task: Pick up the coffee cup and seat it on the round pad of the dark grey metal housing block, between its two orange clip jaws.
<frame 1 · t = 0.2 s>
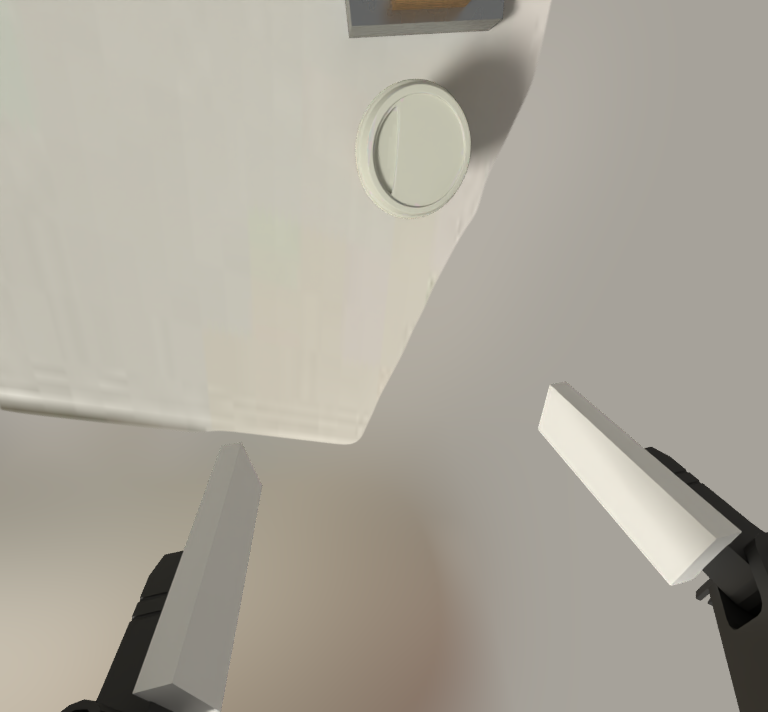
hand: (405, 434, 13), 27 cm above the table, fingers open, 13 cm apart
coffee cup: (386, 160, 31), on the table
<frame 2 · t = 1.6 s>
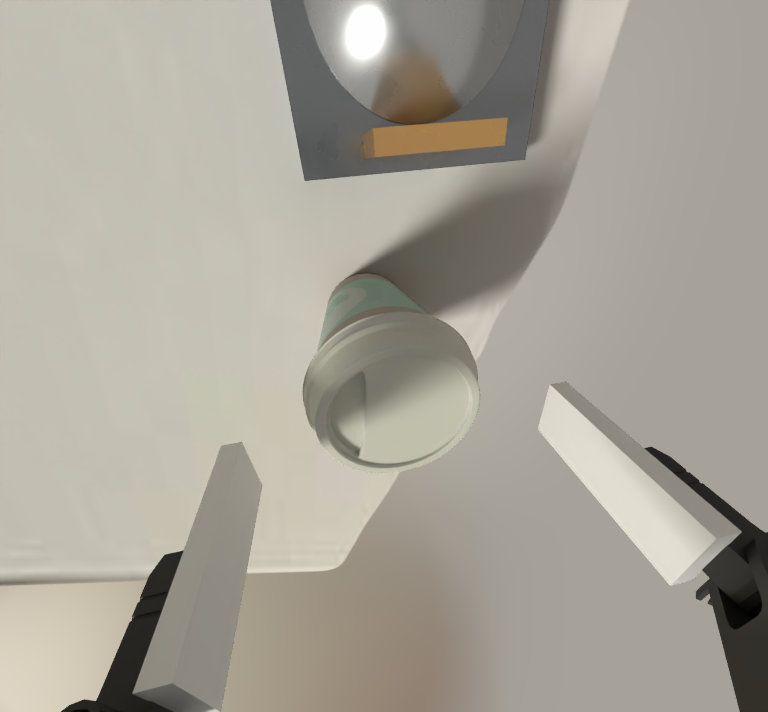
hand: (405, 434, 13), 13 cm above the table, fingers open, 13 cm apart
coffee cup: (365, 309, 23), on the table
housing block: (403, 3, 15), on the table
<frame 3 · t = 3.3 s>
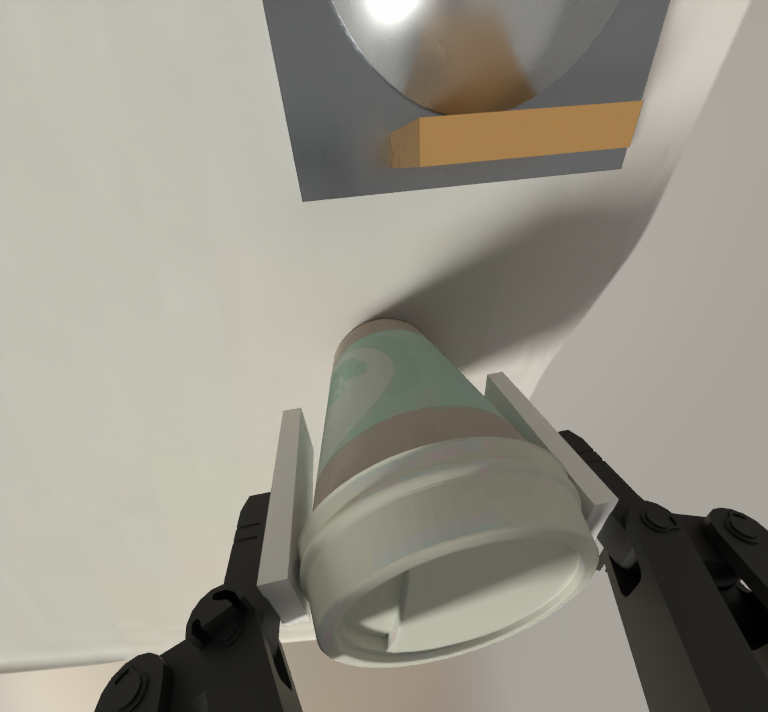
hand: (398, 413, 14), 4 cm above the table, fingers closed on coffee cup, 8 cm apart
coffee cup: (382, 361, 18), on the table, touching gripper
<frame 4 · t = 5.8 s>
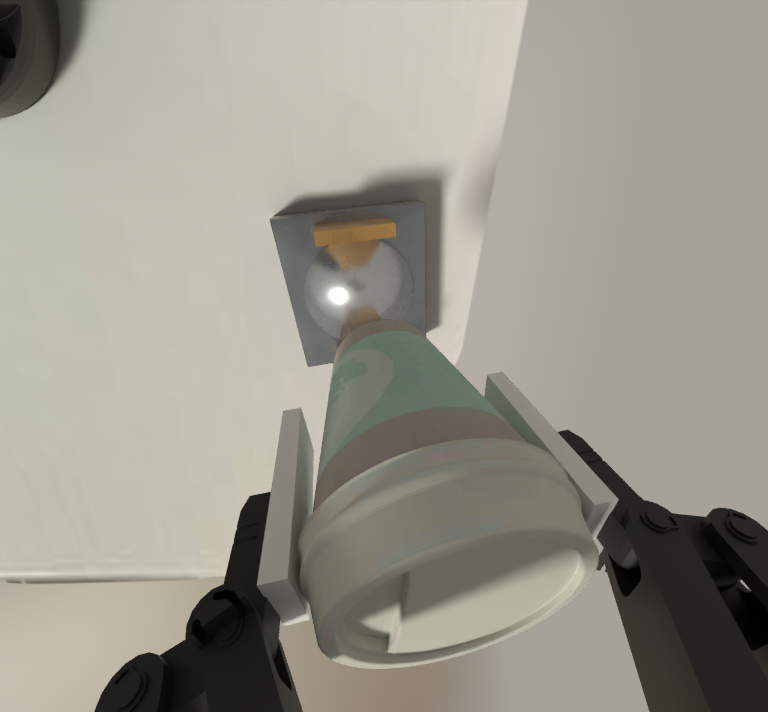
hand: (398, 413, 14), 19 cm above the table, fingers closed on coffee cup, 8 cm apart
coffee cup: (382, 362, 18), point 14 cm above the table, touching gripper
housing block: (357, 285, 30), on the table
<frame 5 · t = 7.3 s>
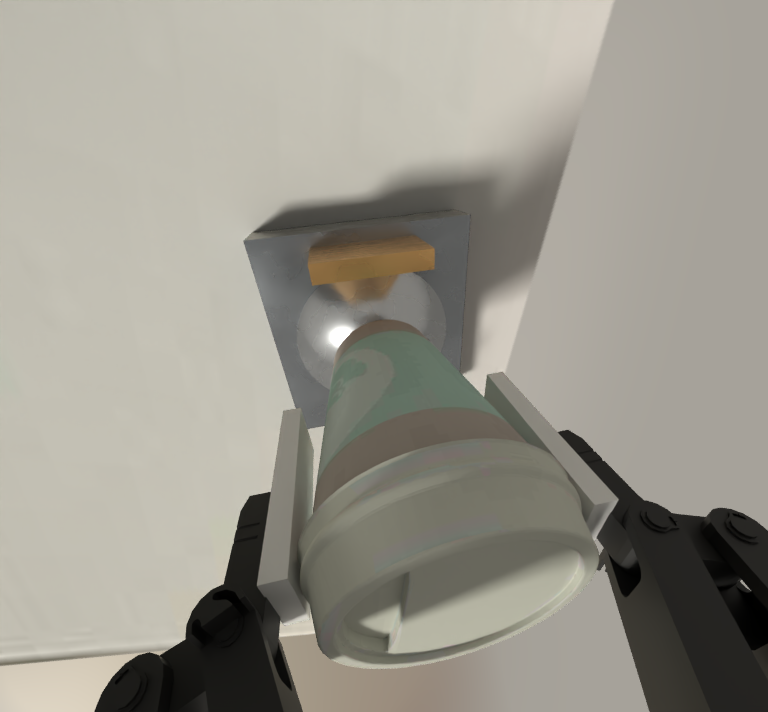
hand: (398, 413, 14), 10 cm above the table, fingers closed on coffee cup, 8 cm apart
coffee cup: (382, 362, 18), point 5 cm above the table, touching gripper
housing block: (368, 322, 22), on the table
when the fingers open (8 cm above the table, at t = 8.5 s): coffee cup drops 1 cm, resting on housing block.
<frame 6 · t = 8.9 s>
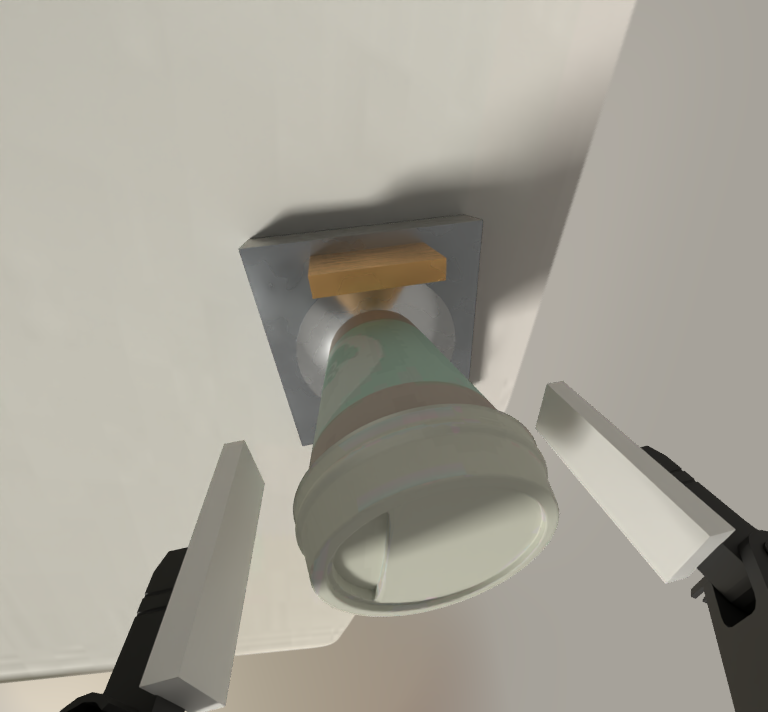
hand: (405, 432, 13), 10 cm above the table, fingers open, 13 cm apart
coffee cup: (375, 351, 19), point 3 cm above the table, touching housing block
housing block: (372, 333, 21), on the table
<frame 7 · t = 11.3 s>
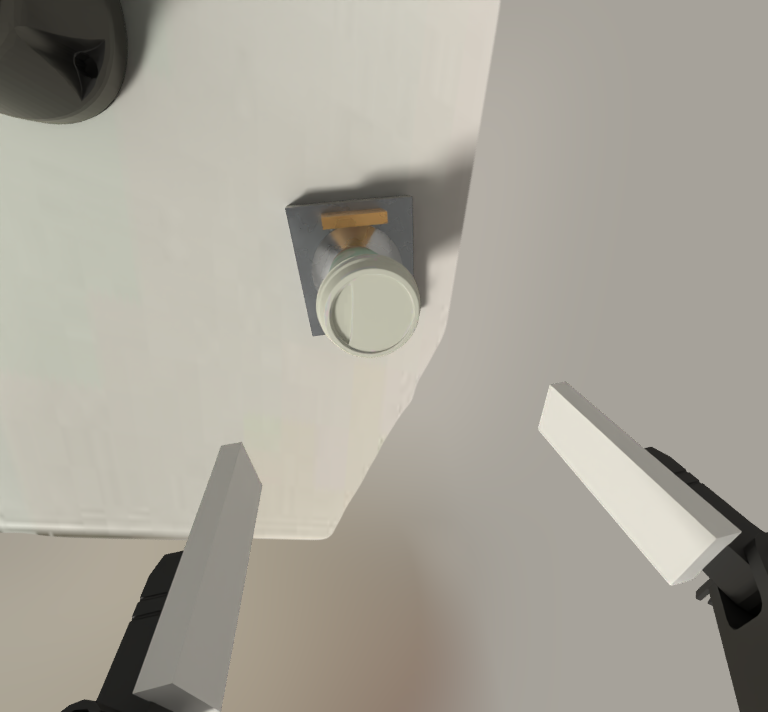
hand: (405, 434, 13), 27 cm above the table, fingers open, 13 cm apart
coffee cup: (356, 272, 33), point 3 cm above the table, touching housing block
housing block: (355, 266, 36), on the table
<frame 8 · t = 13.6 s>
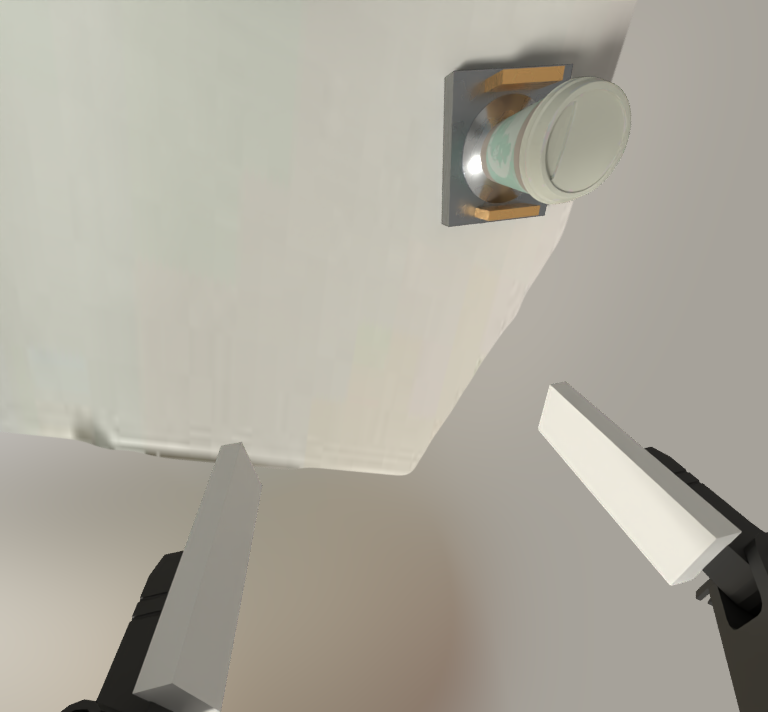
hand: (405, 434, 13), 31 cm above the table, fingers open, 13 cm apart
coffee cup: (503, 152, 33), point 3 cm above the table, touching housing block
housing block: (494, 153, 36), on the table
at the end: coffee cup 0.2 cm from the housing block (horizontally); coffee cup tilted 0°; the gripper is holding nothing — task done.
